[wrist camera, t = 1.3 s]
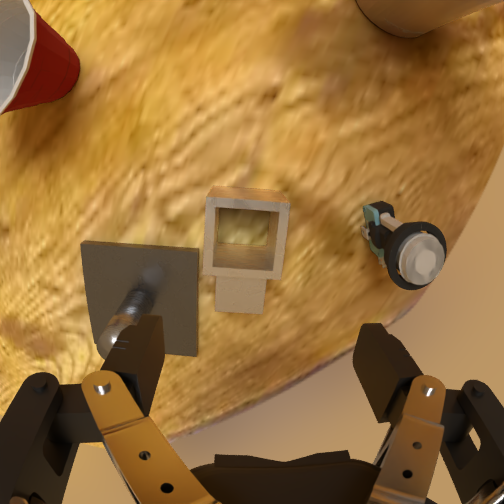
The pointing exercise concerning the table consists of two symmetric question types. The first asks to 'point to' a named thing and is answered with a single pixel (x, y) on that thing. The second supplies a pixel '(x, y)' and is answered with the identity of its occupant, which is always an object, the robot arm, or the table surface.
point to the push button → (404, 246)
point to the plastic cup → (32, 59)
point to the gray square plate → (141, 291)
